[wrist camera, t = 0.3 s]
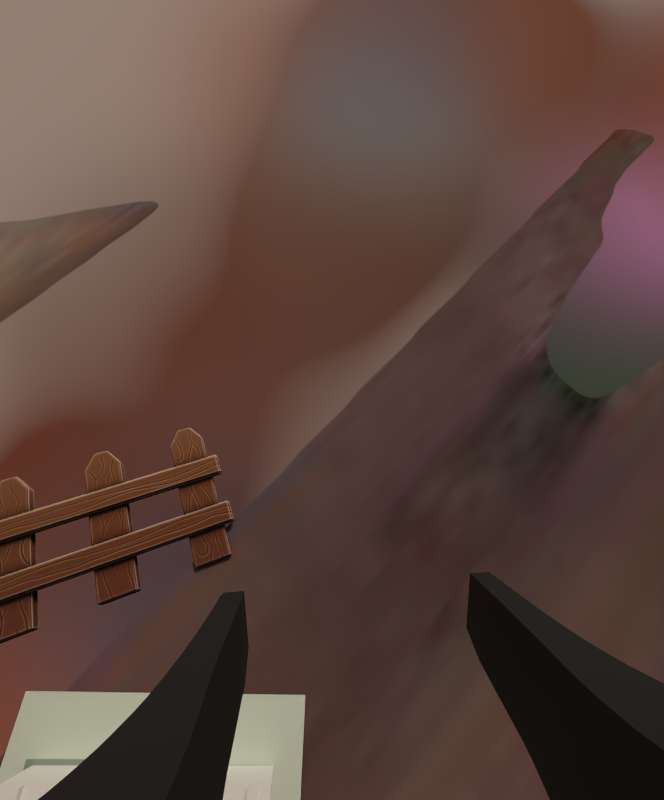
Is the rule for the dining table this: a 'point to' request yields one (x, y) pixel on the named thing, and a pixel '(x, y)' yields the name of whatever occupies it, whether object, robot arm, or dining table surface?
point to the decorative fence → (107, 530)
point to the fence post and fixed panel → (33, 782)
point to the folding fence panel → (248, 783)
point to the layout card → (105, 711)
